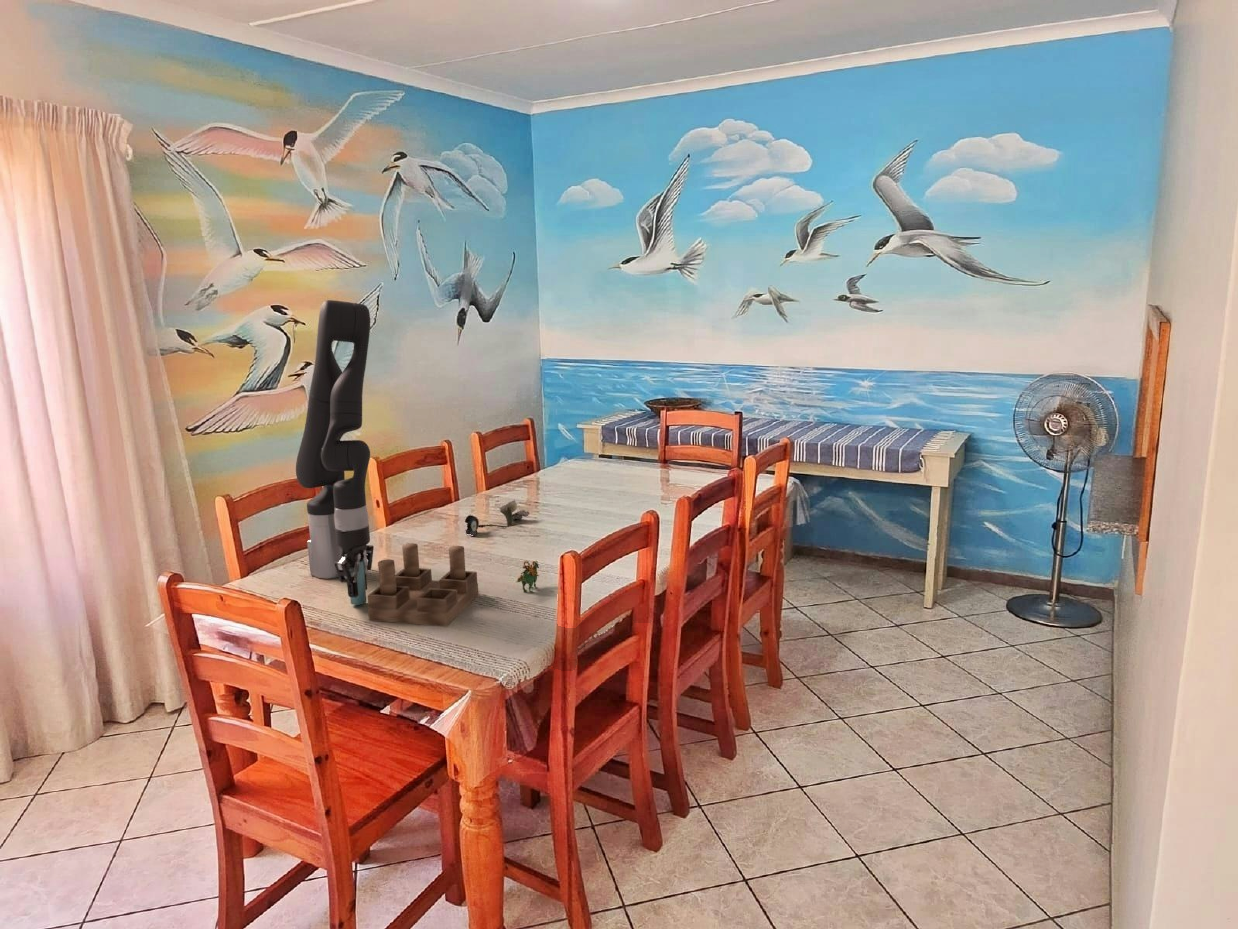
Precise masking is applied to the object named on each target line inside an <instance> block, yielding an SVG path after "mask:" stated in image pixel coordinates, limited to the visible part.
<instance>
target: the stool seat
mask: <svg viewBox="0 0 1238 929" xmlns="http://www.w3.org/2000/svg"><path fill="white" fill-rule="evenodd" d="M401 546H402V558H403V569H402V570H400V571H399V572H398V573H396V564H395V560H394V559H389V558H388V559H382V560H379V561H378V562H377V566H378V568H377V570H378V580H379V586H378V587H377V588H376V589H375V590H373V591H372V592H370V593H369V594H368V595H367V602H368V604H367V605H368V607H367V610H368V620H369V621H371V622H372V621H373V622H374V621H375V622H389V623H399V624H411V625H424V626H426V625H427V626H437V627H438V626H439V627H447V626H449V625H450V624H451V623H452V622H453V621H454V620H455V619H456V618H457V617H458V616H459V615H460V614H461V613H462V612H463V611H464V610H465V609H466V608H467V607H468V606H469V605H470V604H471V603H472V602H473V601H474V600H475V599H476V598H477V597H478V596H480V595H479V583H478V572H477V571H469V570H466V559H465V556H466V555H465V547H464V546H463V545H452V546H450V547H448V559H449V571H448V572H447V573H446V574H444V575H443V576H442V577H441V578H440V579H439V580H435V579H434V580H432V579H433V578H432V569H431V568H421V567H420V562H419V561H420V560H419V559H420V558H419V545H418V544H417V543H415V542H411V543H409V542H408V543H406V544H402V545H401Z"/></svg>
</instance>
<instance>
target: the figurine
mask: <svg viewBox="0 0 1238 929" xmlns="http://www.w3.org/2000/svg"><path fill="white" fill-rule="evenodd" d="M539 565H540V564H539V562H538V561H537V560H532V563H531V564H530V561H527V560H524V561H523V566H522V569H524V570H523V571H522V572H520V575H519V577H518V578H517V580H516V582H515V583H521V585H522V591H523V593H525V592H528V594H530V593H534V591H533V590H531V588H533V587H534V589H537V588H538V586H537V584H536V583H537V579H538V577H540V574H538V569H539V568H540V567H539ZM527 584H528V590H529V591H528V590H526V588H525V587H526V585H527Z"/></svg>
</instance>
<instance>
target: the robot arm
mask: <svg viewBox="0 0 1238 929" xmlns="http://www.w3.org/2000/svg"><path fill="white" fill-rule="evenodd" d="M318 315H319V316H318V322H317V323H318V324H317V335H316V336H317V337H316V350H315V360H314V364H313V365H314V366H313V373H312V378H311V382H310V387H309V393H308V399H307V400H308V401H307V409H306V410H307V411H306V417H305V423H304V430H303V434H302V438H301V442H300V445H299V450H298V453H297V457H296V462H295V475H296V479H297V482H298V484H299V486H301V487H303V488H305V489H314V488H321V487H322V488H321V490H320V492H318V494H316V495H315V496H313V497H312V498H310V499H309V500H308V501H307V503H306V511H307V512H306V513H307V521H308V530H309V539H308V540H306V541H307V542H306V543H307V553H308V554H307V555H308V563H309V573H310V576H312V575H314V576H313V577H315V578H318V579H335V578H336V579H337V578H339V581H340V582H341V583H346V586H347V587H346V588H347V594H348V597H349V598H350V597H357V596H358V586H357V582H356V581H357V573H358V572H359V563H360V562H361V561H363V564H364V575H365V587H366V591H367V590H368V581H367V575H368V574H369V571H371V570H372V565H373V556H374V545H373V544H372V545H371V544H370V545H369V543H370V541H371V535H370V534H371V533H370V523H369V522H370V520H369V512H368V508H367V497H366V479H367V473H368V472H367V471H368V468H369V464H370V460H371V450H370V447H369V446H368V443H366V442H365V441H364V440H359V439H353V440H352V439H350V440H342V437H343V436H344V435H345V434H347V433H350V432H354V431H357V430H359V429H361V428H362V425H363V394H364V393H363V390H364V382H365V381H364V379H365V374H366V366H367V358H368V349H369V342H370V334H371V314H370V310H369V307H368V306H367V305H365V304H363V303H357V302H351V301H350V302H349V301H342V300H332V299H327V300H324V302H323V303H322V304H321V306H320V309H319V314H318ZM334 341H336V342H343V343H344V342H345V343H352V344H353V349H352V350H353V351H352V355H351V358H350V359H349V361H348V363H347V365H346V366H345V368H344V369H343V370H342V369H341V367H340V365H339V364H338V362H337V360H336V357H335V353H334V352H333V345H332V344H333V342H334ZM345 471H346V472H352V471H353V475H352V477H350V478H347V479H346V478H345ZM348 567H352V568H354V567H355V568H354V569H349V568H348ZM350 573H352V576H351V574H350Z"/></svg>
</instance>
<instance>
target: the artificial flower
mask: <svg viewBox="0 0 1238 929" xmlns="http://www.w3.org/2000/svg"><path fill="white" fill-rule="evenodd" d="M517 507H518V505H517V501H516V500H515V499H513V500H512V501H510V502H508V503H506V504H503V505H502V506H500V507H498V509H499V511H500V513H501V514H502V515H504V517H505V519H506V524H507V525H501V524H500V525H499V524H494V523H493V524H491V523H490V524H479V522H480V521H479V519H478V517H477V516H474V515H471V514H469V515H467V516H466V517H465V519H464V522H465V523H466V527H467V528H466V529H465V530H464V531H465V534H466V535H467V534H471V535H473V536H472V537H476V536H477V535H478V534H479V532H478V529H479V528H482V529H483V528H485V527H498V528H504V527H505V528H508V527H510V526H511V525H512V524H513V523H514V520H522V519H523V517H529V515H530V511H528V510H527V511H525V509H522V510H519V511H516V510H517V509H518V508H517ZM515 511H516V512H515ZM513 519H514V520H513ZM485 533H486V532H485ZM471 535H470V536H471Z"/></svg>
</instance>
